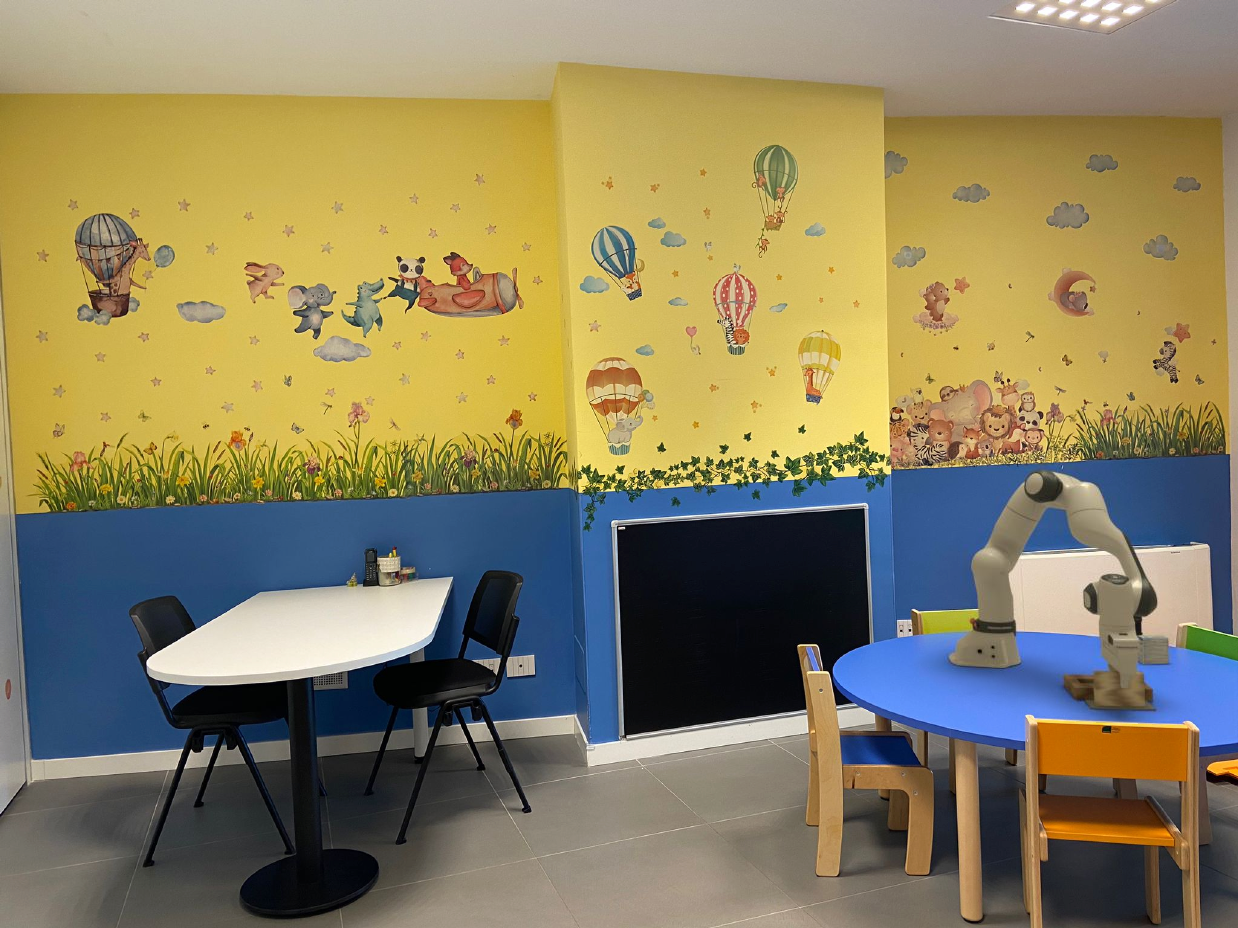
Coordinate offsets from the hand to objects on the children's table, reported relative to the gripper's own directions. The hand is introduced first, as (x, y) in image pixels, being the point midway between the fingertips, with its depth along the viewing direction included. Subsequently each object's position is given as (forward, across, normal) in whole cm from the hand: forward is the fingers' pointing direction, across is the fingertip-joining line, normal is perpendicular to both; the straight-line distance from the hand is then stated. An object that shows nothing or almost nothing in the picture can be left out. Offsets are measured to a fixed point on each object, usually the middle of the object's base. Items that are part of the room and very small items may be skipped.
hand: (1118, 682), depth 247 cm
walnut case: (+7, -12, 0) cm, 14 cm away
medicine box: (+7, -47, +23) cm, 53 cm away
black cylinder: (+7, -67, +21) cm, 71 cm away
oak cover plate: (+6, 0, 0) cm, 6 cm away
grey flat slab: (+7, 0, 0) cm, 7 cm away
